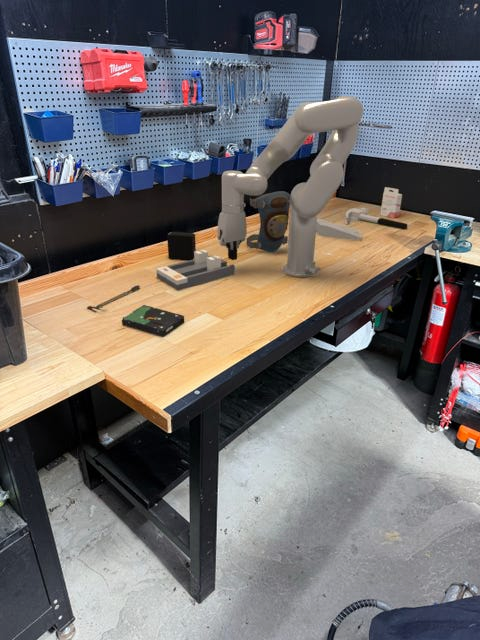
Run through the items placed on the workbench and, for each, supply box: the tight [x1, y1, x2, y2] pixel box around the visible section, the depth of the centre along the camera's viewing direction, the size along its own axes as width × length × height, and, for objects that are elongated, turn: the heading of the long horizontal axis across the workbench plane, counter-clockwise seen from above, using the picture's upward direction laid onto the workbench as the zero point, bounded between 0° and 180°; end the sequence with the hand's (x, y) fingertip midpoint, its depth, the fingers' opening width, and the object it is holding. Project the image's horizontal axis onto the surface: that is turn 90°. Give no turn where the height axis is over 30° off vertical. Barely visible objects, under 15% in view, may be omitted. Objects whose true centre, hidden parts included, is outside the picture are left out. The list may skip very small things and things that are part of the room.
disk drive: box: [121, 304, 185, 338], centre depth 130 cm, size 10×3×15 cm
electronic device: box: [166, 231, 197, 262], centre depth 177 cm, size 4×10×10 cm, turn 79°
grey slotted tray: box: [156, 254, 236, 291], centre depth 162 cm, size 14×24×4 cm, turn 128°
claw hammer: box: [344, 207, 409, 231], centre depth 226 cm, size 6×22×30 cm
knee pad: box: [245, 190, 291, 253], centre depth 185 cm, size 18×20×25 cm
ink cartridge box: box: [380, 186, 403, 219], centre depth 238 cm, size 9×5×15 cm, turn 43°
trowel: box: [316, 217, 363, 242], centre depth 210 cm, size 28×16×5 cm, turn 44°
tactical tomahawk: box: [86, 285, 141, 313], centre depth 144 cm, size 21×7×1 cm, turn 145°
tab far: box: [193, 249, 209, 264], centre depth 166 cm, size 3×4×5 cm
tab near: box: [207, 254, 222, 271], centre depth 161 cm, size 3×4×5 cm
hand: (232, 258), depth 165 cm, fingers closed
